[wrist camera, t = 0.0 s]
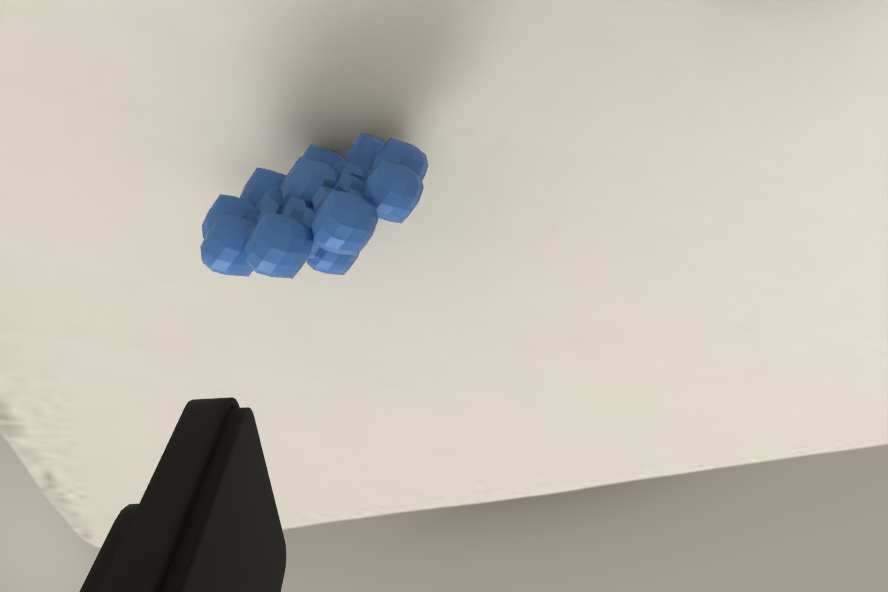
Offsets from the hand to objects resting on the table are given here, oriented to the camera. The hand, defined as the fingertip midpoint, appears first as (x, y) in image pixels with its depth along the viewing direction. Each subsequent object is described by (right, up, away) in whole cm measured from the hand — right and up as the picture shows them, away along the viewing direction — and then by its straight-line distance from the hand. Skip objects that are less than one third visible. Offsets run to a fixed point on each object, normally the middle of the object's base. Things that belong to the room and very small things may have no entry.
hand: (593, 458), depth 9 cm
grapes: (-8, +9, +31) cm, 33 cm away
